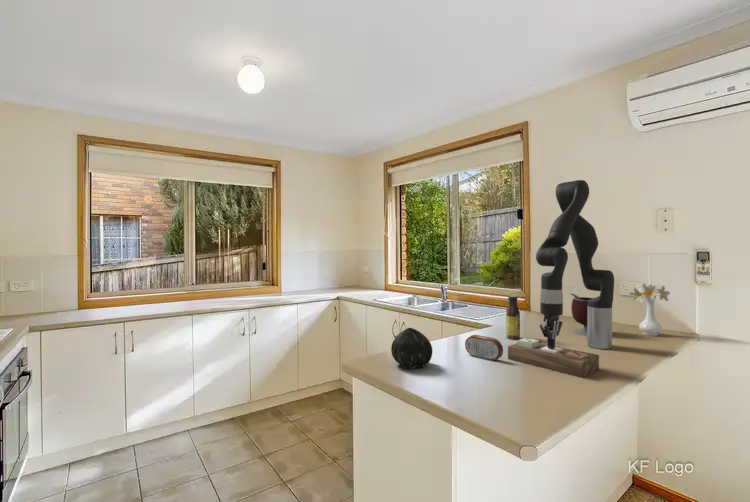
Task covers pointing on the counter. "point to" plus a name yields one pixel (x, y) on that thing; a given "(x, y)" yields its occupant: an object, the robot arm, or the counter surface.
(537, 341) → the two dot button
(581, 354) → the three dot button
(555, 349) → the one dot button
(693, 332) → the counter surface
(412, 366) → the squash
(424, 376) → the counter surface
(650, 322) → the flower vase
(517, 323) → the sauce bottle
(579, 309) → the mate gourd
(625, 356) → the counter surface
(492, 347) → the tin
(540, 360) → the console
